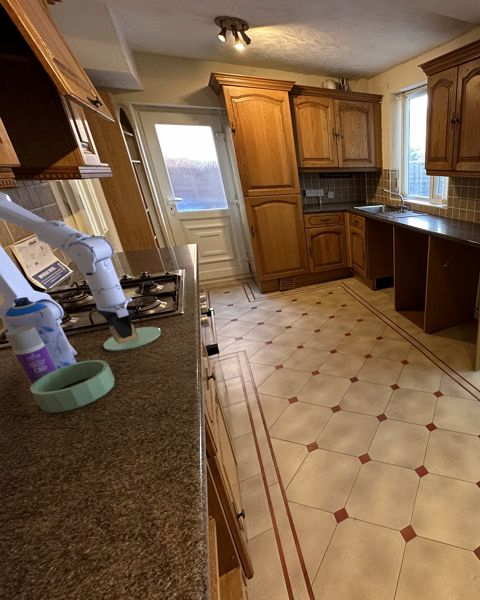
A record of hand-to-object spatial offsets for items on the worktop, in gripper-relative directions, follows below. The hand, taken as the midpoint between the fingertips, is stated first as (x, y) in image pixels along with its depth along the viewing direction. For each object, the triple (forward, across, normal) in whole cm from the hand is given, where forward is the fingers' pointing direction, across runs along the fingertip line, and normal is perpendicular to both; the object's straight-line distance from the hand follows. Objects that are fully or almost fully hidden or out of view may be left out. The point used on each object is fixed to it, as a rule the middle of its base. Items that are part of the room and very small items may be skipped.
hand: (124, 334), depth 86 cm
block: (+1, 0, 0) cm, 1 cm away
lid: (+6, +10, -3) cm, 12 cm away
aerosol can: (+7, +8, +14) cm, 17 cm away
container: (+7, +1, +16) cm, 18 cm away
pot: (+7, -9, +13) cm, 17 cm away
